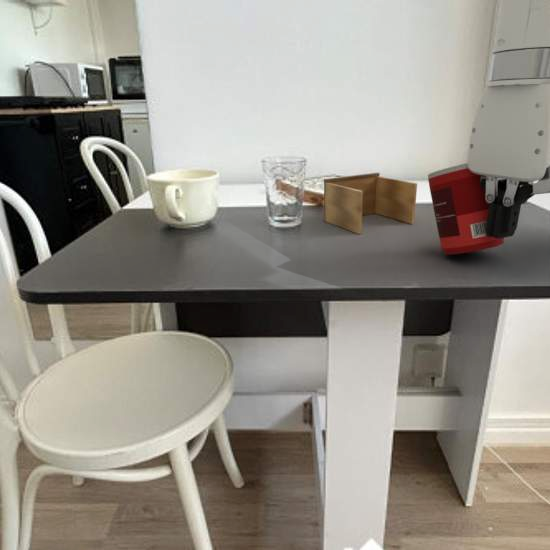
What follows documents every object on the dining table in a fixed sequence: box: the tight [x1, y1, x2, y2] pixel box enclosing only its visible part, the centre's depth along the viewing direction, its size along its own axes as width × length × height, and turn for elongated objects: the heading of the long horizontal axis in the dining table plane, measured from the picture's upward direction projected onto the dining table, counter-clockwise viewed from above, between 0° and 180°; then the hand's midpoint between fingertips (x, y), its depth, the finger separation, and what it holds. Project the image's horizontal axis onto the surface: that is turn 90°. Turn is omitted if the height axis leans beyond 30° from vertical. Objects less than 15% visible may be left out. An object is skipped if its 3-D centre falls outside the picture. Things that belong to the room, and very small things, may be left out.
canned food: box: [427, 162, 505, 256], centre depth 58 cm, size 8×8×11 cm
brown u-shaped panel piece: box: [323, 172, 418, 235], centre depth 77 cm, size 11×12×8 cm
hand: (499, 235), depth 54 cm, fingers closed
